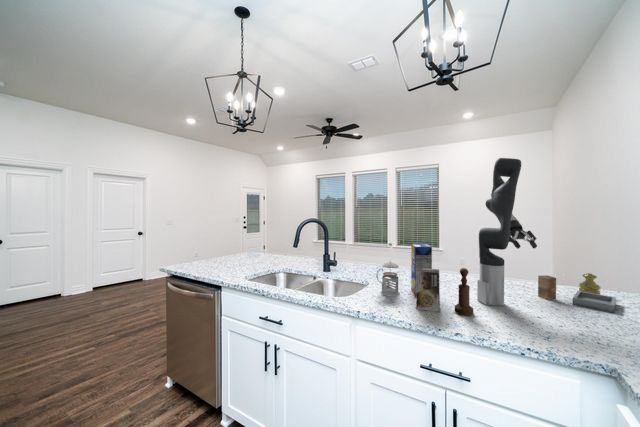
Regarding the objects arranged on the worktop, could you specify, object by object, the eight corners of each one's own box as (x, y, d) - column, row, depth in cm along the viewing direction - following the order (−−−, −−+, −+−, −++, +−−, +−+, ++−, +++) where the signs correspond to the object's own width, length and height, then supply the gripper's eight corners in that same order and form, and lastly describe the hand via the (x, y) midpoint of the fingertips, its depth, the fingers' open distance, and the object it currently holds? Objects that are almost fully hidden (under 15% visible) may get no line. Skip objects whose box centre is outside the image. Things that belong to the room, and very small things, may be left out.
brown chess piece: (471, 311, 108) (471, 267, 107) (475, 317, 102) (475, 270, 101) (453, 309, 110) (453, 266, 110) (456, 314, 104) (456, 269, 103)
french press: (403, 296, 126) (403, 244, 126) (378, 296, 126) (378, 244, 126) (397, 290, 136) (397, 241, 135) (374, 290, 136) (374, 241, 136)
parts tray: (614, 312, 105) (614, 305, 105) (572, 304, 114) (572, 297, 114) (615, 304, 115) (616, 297, 115) (577, 297, 124) (577, 290, 124)
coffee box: (439, 306, 112) (439, 269, 112) (439, 312, 107) (439, 272, 106) (417, 303, 116) (417, 267, 116) (415, 308, 110) (415, 270, 110)
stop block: (546, 299, 121) (546, 278, 121) (538, 296, 125) (538, 275, 125) (556, 299, 121) (556, 277, 121) (547, 296, 125) (547, 275, 125)
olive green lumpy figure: (590, 291, 132) (590, 271, 132) (605, 296, 125) (605, 275, 125) (574, 291, 133) (574, 271, 133) (588, 296, 126) (588, 275, 125)
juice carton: (411, 289, 137) (411, 243, 137) (426, 290, 136) (426, 243, 135) (415, 296, 125) (415, 246, 125) (431, 297, 124) (431, 247, 124)
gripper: (501, 219, 143) (517, 243, 131) (527, 219, 143) (545, 242, 132) (494, 228, 148) (509, 252, 137) (519, 228, 149) (536, 251, 137)
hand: (527, 247), depth 134 cm, fingers open, 8 cm apart
